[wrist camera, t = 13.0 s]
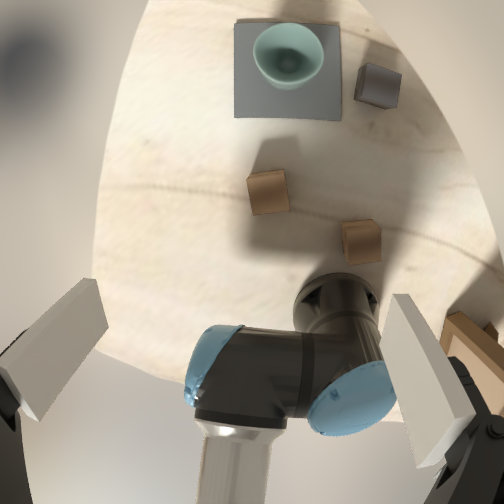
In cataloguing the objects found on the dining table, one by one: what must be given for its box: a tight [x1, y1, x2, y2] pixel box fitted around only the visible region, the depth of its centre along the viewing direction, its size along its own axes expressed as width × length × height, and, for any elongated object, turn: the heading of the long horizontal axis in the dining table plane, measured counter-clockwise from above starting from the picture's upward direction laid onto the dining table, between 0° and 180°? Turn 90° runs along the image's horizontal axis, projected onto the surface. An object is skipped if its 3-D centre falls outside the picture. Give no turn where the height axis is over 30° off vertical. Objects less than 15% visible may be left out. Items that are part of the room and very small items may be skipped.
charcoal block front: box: [354, 63, 402, 109], centre depth 35 cm, size 5×5×5 cm
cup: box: [253, 22, 324, 91], centre depth 32 cm, size 8×8×10 cm
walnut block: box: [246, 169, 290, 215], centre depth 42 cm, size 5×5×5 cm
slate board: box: [234, 22, 341, 121], centre depth 37 cm, size 15×15×1 cm
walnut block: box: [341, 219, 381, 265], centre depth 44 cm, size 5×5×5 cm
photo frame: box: [439, 311, 504, 418], centre depth 41 cm, size 15×22×25 cm
